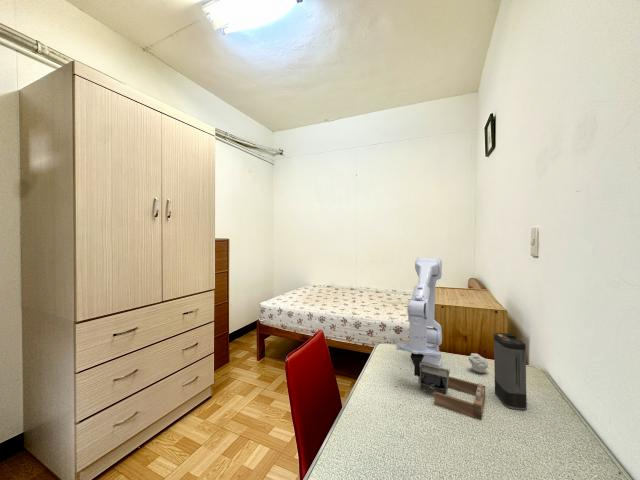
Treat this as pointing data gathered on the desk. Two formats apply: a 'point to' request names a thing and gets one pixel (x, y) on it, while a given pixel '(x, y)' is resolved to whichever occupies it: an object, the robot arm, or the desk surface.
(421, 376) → the electrical switch
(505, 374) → the electronic device
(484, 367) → the grey rounded carved piece
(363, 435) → the desk surface
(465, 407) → the socket dock
